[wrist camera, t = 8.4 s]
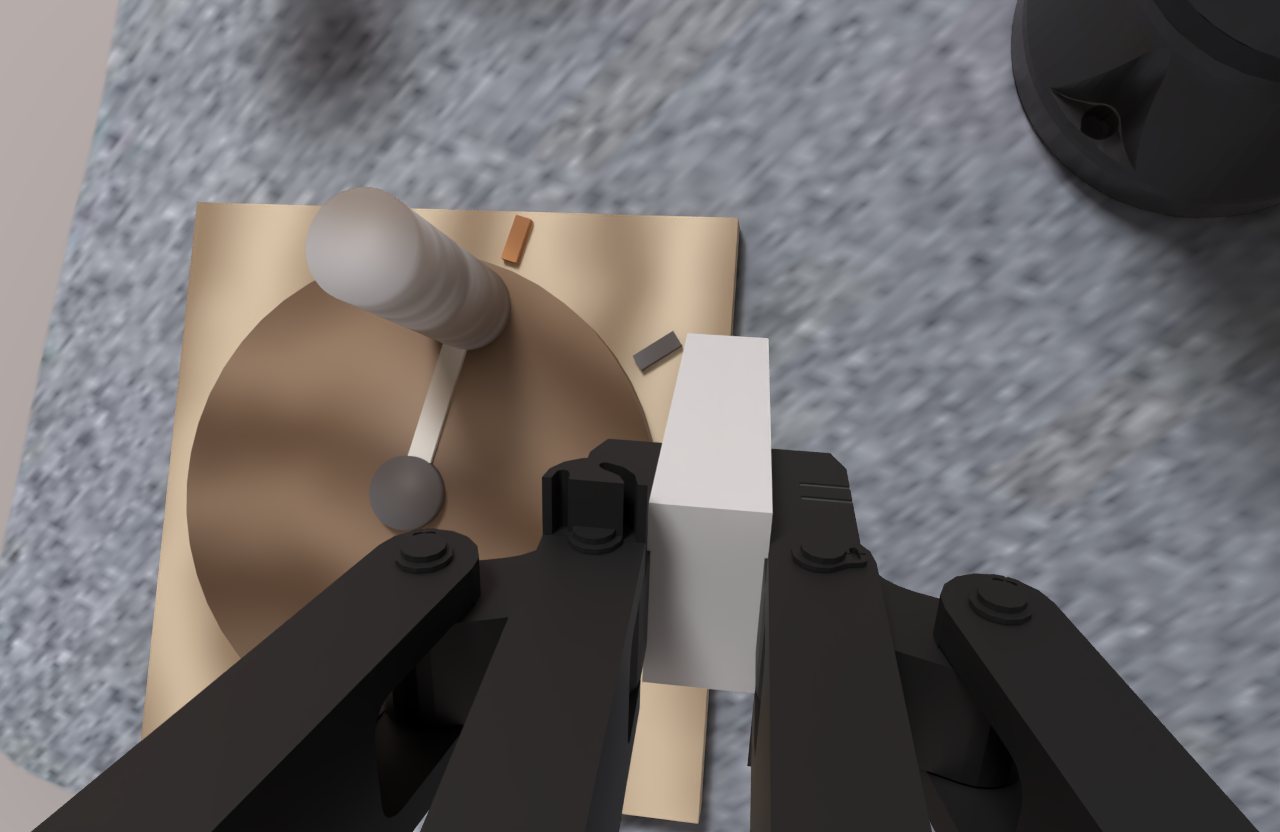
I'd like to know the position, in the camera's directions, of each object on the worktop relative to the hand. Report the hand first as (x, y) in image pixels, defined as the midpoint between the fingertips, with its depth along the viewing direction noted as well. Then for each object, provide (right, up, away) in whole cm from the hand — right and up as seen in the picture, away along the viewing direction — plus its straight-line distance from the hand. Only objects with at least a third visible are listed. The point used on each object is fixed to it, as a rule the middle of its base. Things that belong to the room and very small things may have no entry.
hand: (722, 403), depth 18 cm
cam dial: (-11, -3, +22) cm, 25 cm away
